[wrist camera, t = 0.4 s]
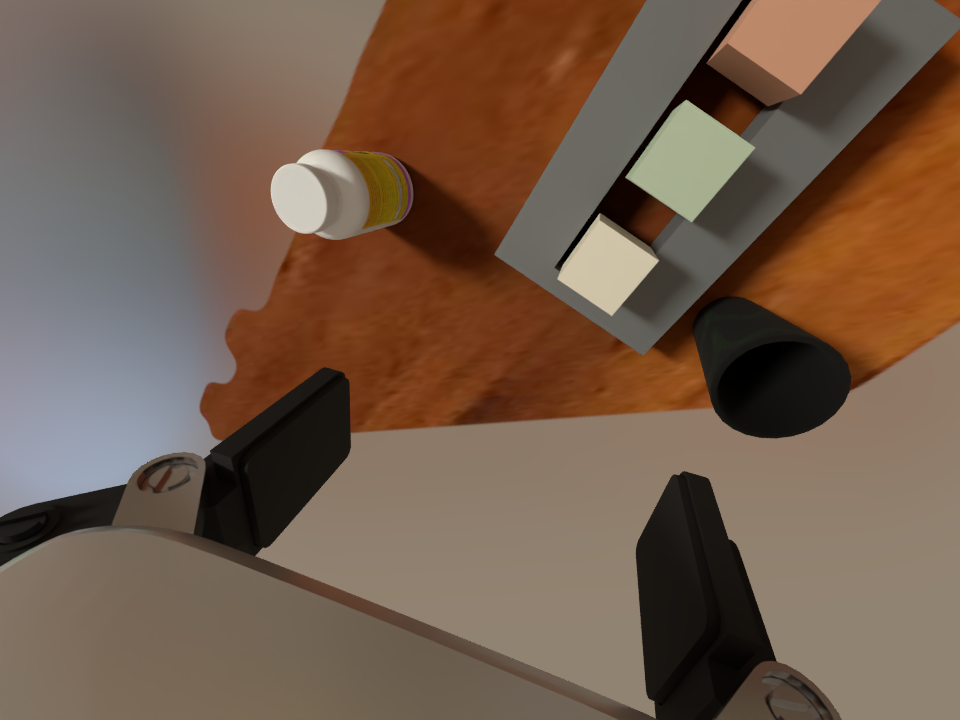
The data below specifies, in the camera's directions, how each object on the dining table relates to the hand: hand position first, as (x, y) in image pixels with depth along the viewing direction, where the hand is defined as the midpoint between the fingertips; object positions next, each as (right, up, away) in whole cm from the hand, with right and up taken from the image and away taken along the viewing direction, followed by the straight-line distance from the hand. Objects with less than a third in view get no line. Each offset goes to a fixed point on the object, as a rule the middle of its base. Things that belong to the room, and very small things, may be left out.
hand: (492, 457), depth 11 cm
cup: (+22, +6, +25) cm, 34 cm away
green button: (+14, +17, +18) cm, 28 cm away
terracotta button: (+18, +23, +14) cm, 32 cm away
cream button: (+10, +11, +22) cm, 27 cm away
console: (+15, +19, +21) cm, 32 cm away
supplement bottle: (-10, +20, +28) cm, 36 cm away
